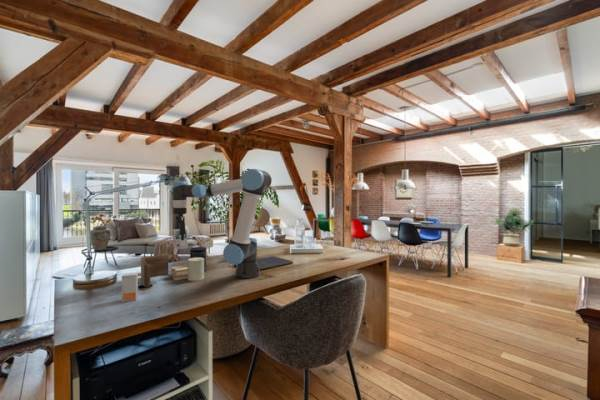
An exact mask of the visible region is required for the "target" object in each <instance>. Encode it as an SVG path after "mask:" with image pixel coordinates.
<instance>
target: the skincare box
mask: <svg viewBox="0 0 600 400" xmlns="http://www.w3.org/2000/svg"><path fill="white" fill-rule="evenodd" d="M138 274H139V273H138V272H129V273H123V274H122V275H121V302H122V303H123V302H132V301H137V299H138V294H139V293H138V292H139V291H138V290H139V288H138V286H139V285H138V283H139V282H138V281H139V280H138V279H139V278H138V277H139V275H138Z"/></svg>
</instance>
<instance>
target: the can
mask: <svg viewBox="0 0 600 400" xmlns="http://www.w3.org/2000/svg"><path fill="white" fill-rule="evenodd" d="M187 268H188V278H187V280H188V281H189V282H195V281H196V282H197V281H202V280H204V279H205V272H204V258H200V257H197V258H190V257H189V258H188V259H187Z"/></svg>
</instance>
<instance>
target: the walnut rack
mask: <svg viewBox="0 0 600 400" xmlns="http://www.w3.org/2000/svg"><path fill="white" fill-rule="evenodd" d="M169 272H170V271H169V254H162V255H161V254H160V255H152V256H143V257H142V256H141V257H140V279H141V281H142V285H143V284H144V285H143V288H144V287H146V288H151V278H154V277H159V276H167V275H169Z"/></svg>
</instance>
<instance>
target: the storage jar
mask: <svg viewBox="0 0 600 400" xmlns="http://www.w3.org/2000/svg"><path fill="white" fill-rule="evenodd" d="M197 257H200V258H204V273H206V272H207V247H205V246H195V247H191V248H190V249H189V259H190V258H197Z"/></svg>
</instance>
